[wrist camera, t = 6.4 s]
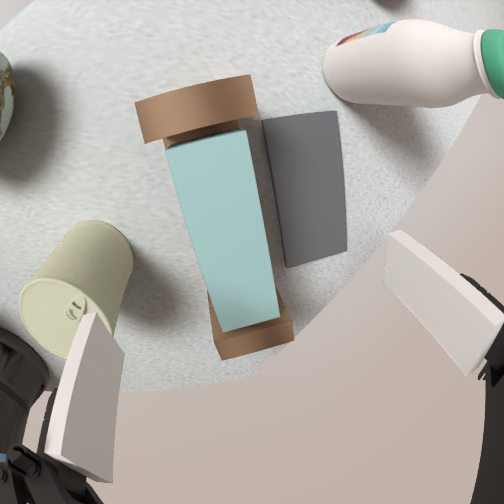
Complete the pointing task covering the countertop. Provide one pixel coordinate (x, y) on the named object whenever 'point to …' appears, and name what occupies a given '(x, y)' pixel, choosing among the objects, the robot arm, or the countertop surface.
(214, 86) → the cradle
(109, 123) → the countertop surface
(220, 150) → the slab
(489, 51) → the milk bottle
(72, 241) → the can
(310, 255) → the mat
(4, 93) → the bowl
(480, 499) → the robot arm
